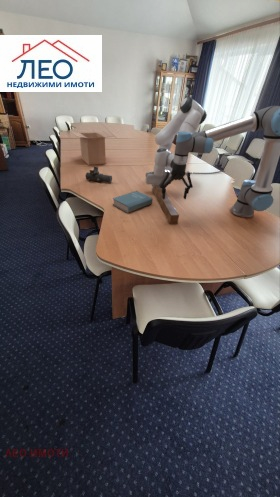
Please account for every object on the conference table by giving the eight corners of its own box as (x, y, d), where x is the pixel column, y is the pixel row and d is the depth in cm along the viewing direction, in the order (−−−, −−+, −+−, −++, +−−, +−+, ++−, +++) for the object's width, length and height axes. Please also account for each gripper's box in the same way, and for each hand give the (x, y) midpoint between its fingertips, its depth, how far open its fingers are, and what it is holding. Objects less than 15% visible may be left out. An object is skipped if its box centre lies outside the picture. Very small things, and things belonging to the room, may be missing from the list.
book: (136, 197, 168) (136, 190, 165) (151, 204, 159) (152, 197, 156) (113, 204, 154) (112, 198, 151) (128, 213, 145) (128, 206, 142)
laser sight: (109, 184, 185) (109, 172, 179) (84, 181, 187) (82, 169, 182) (112, 180, 192) (112, 169, 186) (88, 177, 195) (87, 166, 189)
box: (116, 165, 229) (116, 136, 213) (83, 168, 214) (80, 137, 198) (102, 154, 259) (101, 128, 243) (71, 156, 244) (68, 129, 228)
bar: (152, 189, 183) (152, 182, 179) (158, 189, 183) (158, 182, 180) (169, 223, 138) (171, 215, 134) (177, 223, 139) (179, 215, 135)
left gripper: (146, 172, 164) (145, 190, 172) (173, 173, 167) (170, 190, 175) (145, 170, 169) (143, 187, 177) (170, 170, 172) (168, 187, 180)
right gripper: (159, 164, 118) (155, 201, 131) (203, 165, 122) (195, 201, 135) (156, 160, 124) (153, 196, 137) (198, 161, 128) (191, 196, 141)
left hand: (157, 189), depth 176 cm, fingers closed on bar, 5 cm apart
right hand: (174, 198), depth 136 cm, fingers open, 13 cm apart
